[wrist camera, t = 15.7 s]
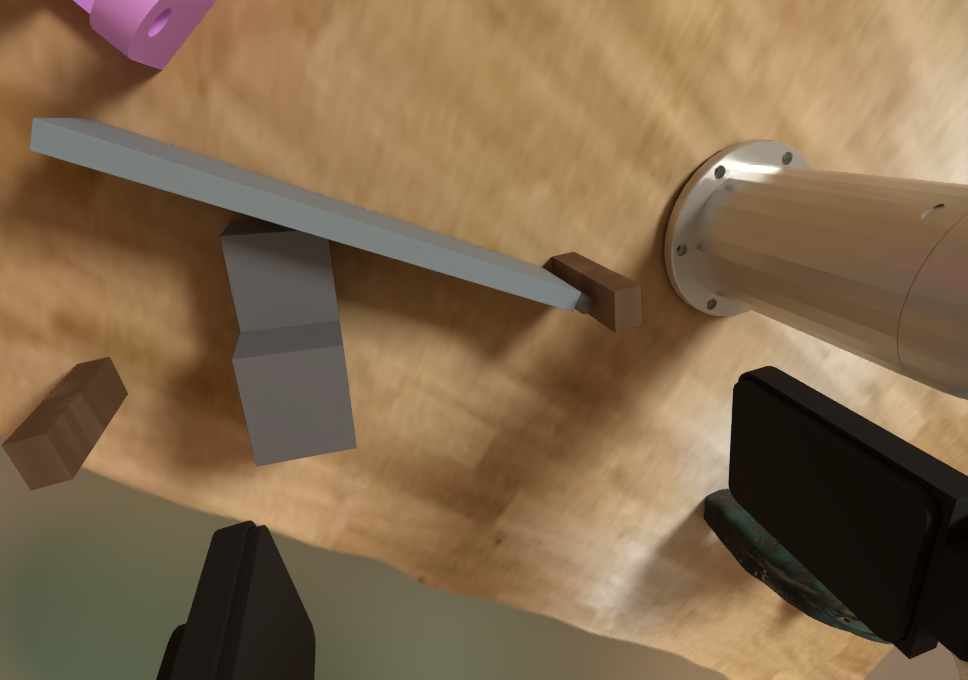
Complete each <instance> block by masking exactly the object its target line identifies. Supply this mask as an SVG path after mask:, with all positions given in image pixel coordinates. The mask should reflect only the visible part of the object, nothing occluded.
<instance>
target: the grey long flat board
mask: <svg viewBox="0 0 968 680" xmlns="http://www.w3.org/2000/svg"><path fill="white" fill-rule="evenodd" d="M30 150H31V151H34V152H38V153H41V154H44V155H48V156H51V157H54V158H58V159H61V160H65V161H68V162H71V163H75V164H78V165H81V166H85V167H88V168H91V169H95V170H98V171H101V172H105V173H108V174H112V175H115V176H118V177H122V178H125V179H128V180H132V181H135V182H138V183H142V184H145V185H148V186H152V187H155V188H159V189H162V190H165V191H169V192H172V193H175V194H179V195H182V196H185V197H189V198H192V199H195V200H199V201H202V202H206V203H209V204H212V205H216V206H219V207H222V208H226V209H229V210H232V211H236V212H239V213H242V214H246V215H249V216H253V217H256V218H259V219H263V220H266V221H269V222H273V223H276V224H279V225H283V226H286V227H289V228H293V229H296V230H300V231H303V232H306V233H310V234H313V235H316V236H320V237H323V238H326V239H330V240H333V241H336V242H340V243H343V244H347V245H350V246H353V247H357V248H360V249H363V250H367V251H370V252H373V253H377V254H380V255H383V256H387V257H390V258H394V259H397V260H400V261H404V262H407V263H410V264H414V265H417V266H420V267H424V268H427V269H430V270H434V271H437V272H441V273H444V274H447V275H451V276H454V277H457V278H461V279H464V280H467V281H471V282H474V283H477V284H481V285H484V286H488V287H491V288H494V289H498V290H501V291H504V292H508V293H511V294H514V295H518V296H521V297H524V298H528V299H531V300H535V301H538V302H541V303H545V304H548V305H551V306H555V307H558V308H561V309H565V310H568V311H571V312H573V311H574V309H576V310H578V311H579V312H580V313H582V314H587V313H589V312H590V311H591V310H592V309H593V307H594V301H593V299H591V298H590V297H588V296H587V295H585V294H584V293H582V292H580V291H579V290H577V289H576V288H574V287H573V286H571V285H569V284H568V283H566V282H565V281H563V280H562V279H560V278H558V277H557V276H555V275H554V274H552V273H550V272H549V271H547V270H545V269H544V268H542V267H539V266H536V265H533V264H530V263H527V262H524V261H521V260H518V259H515V258H512V257H509V256H506V255H503V254H500V253H497V252H494V251H491V250H487V249H484V248H481V247H478V246H475V245H472V244H469V243H466V242H463V241H460V240H457V239H454V238H451V237H448V236H445V235H442V234H439V233H436V232H433V231H430V230H427V229H424V228H421V227H418V226H415V225H412V224H409V223H406V222H403V221H400V220H397V219H394V218H390V217H387V216H384V215H381V214H378V213H375V212H372V211H369V210H366V209H363V208H360V207H357V206H354V205H351V204H348V203H345V202H342V201H339V200H336V199H333V198H330V197H327V196H324V195H321V194H318V193H315V192H312V191H309V190H306V189H303V188H300V187H297V186H293V185H290V184H287V183H284V182H281V181H278V180H275V179H272V178H269V177H266V176H263V175H260V174H257V173H254V172H251V171H248V170H245V169H242V168H239V167H236V166H233V165H230V164H227V163H224V162H221V161H218V160H215V159H212V158H209V157H206V156H203V155H200V154H196V153H193V152H190V151H187V150H184V149H181V148H178V147H175V146H172V145H169V144H166V143H163V142H160V141H157V140H154V139H151V138H148V137H145V136H142V135H139V134H136V133H133V132H130V131H127V130H124V129H121V128H118V127H115V126H112V125H109V124H106V123H103V122H99V121H96V120H93V119H90V118H33V125H32V134H31V143H30Z"/></svg>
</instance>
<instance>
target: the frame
mask: <svg viewBox="0 0 968 680" xmlns="http://www.w3.org/2000/svg"><path fill="white" fill-rule="evenodd" d="M552 262H553V274H554V275H555V276H557V277H558V278H560V279H562V280H563V281H565V282H566V283H568V284H569V285H571V286H573V287H574V288H576V289H577V290H579V291H580V292H582V293H584V294H585V295H587V296H588V297H590V298H591V299H593V301H594V307H593V309H592V310H591V311H590V312H589V313H588V314H589V315H591V316H592V317H594V318H595V319H597V320H598V321H599V322H601V323H602V324H604V325H605V326H607V327H608V328H609V329H611V330H612V331H614V332H615V333H617V332H621V331H624V330H628V329H632V328H635V327H639V326H641V285H639V284H637V283H635V282H633V281H631V280H629V279H627V278H625V277H623V276H621V275H619V274H617V273H615V272H613V271H611V270H609V269H607V268H605V267H603V266H601V265H599V264H597V263H595V262H593V261H591V260H589V259H587V258H585V257H583V256H581V255H579V254H577V253H575V252H571V253H566V254H562V255H558V256H553V257H552ZM127 395H128V393H127V391H126V389H125V387H124V385H123V383H122V381H121V379H120V377H119V375H118V373H117V371H116V369H115V367H114V365H113V363H112V361H111V359H110V357H107V358H103V359H98V360H94V361H90V362H85V363H81V364H77V365H76V366H75V367H74V368H73V369H72V371H71V372H70V373H69V374H68V375H67V376H66V377H65V378H64V379H63V380H62V381H61V382H60V383H59V384H58V386H57V387H56V388H55V389H54V390H53V391H52V392H51V393H50V394H49V395H48V396H47V397H46V398H45V399H44V401H43V402H42V403H41V404H40V405H39V406H38V407H37V408H36V409H35V410H34V411H33V412H32V413H31V414H30V416H29V417H28V418H27V419H26V420H25V421H24V422H23V423H22V424H21V425H20V426H19V427H18V428H17V429H16V431H15V432H14V433H13V434H12V435H11V436H10V437H9V438H8V439H7V440H6V441H5V442H4V443H3V444H2V446H3V448H4V449H5V451H6V453H7V454H8V455H9V457H10V459H11V460H12V462H13V463H14V464H15V466H16V468H17V469H18V471H19V472H20V474H21V476H22V477H23V479H24V480H25V482H26V483H27V485H28V486H29V488H30V489H31V490H34V489H38V488H41V487H45V486H49V485H53V484H56V483H60V482H64V481H67V480H71V479H73V478H74V476H75V475H76V473H77V472H78V470H79V469H80V467H81V466H82V464H83V462H84V461H85V459H86V458H87V456H88V455H89V453H90V452H91V450H92V449H93V447H94V446H95V444H96V442H97V441H98V439H99V438H100V436H101V435H102V433H103V432H104V430H105V429H106V427H107V426H108V424H109V422H110V421H111V419H112V418H113V416H114V415H115V413H116V412H117V410H118V409H119V407H120V406H121V404H122V402H123V401H124V399H125V398H126V396H127Z"/></svg>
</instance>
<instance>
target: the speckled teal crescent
mask: <svg viewBox="0 0 968 680" xmlns="http://www.w3.org/2000/svg"><path fill="white" fill-rule="evenodd" d="M704 519H705V521H706V522H707V524H708V525H709V526H710V528H711V529H712V530H713V531H714V532H715V534H716V535H717V536H718V538H719V539H720V540H721V542H722V543H723V544H724V545H725V546H726V548H727V549H728V550H729V551H730V552H731V553H732V555H733V556H734V557H735V559H736V560H737V561H738V562H739V563H740V565H741V566H742V567H743V568H744V569H745V570H746V571H747V572H748V573H749V574H751V575H752V576H754V577H755V578H757V579H759V580H760V581H762V582H763V583H765V584H766V585H767V586H768V587H770V588H771V589H772V590H773V591H774V592H776V593H777V594H778V595H779V596H780V597H782V598H783V599H784V600H785V601H787V602H788V603H790V604H791V605H793V606H794V607H796V608H797V609H799V610H800V611H802V612H803V613H805V614H806V615H808V616H810V617H812V618H814V619H816V620H818V621H820V622H822V623H824V624H827V625H829V626H831V627H834V628H838V629H841V630H844V631H848V632H851V633H853V634H855V635H857V636H860V637H863V638H866V639H868V640H871V641H875V642H880V643H884V644H893V643H892V642H886V641H884V640H882V639H880V638H879V637H877V636H876V635H875V634H874V633H873V632H872V631H871V630H870V629H869V628H868V627H867V626H866V625H864V624H863V623H862V622H861V621H860V620H859V619H858V618H857V617H856V616H855V615H854V614H853V613H852V612H851V611H850V610H849V609H848V608H847V607H846V606H845V605H844V604H843V603H842V602H840V601H839V600H838V599H837V598H836V597H835V596H834V595H833V594H832V593H831V592H830V591H829V590H828V589H827V588H826V587H825V586H824V585H823V584H822V583H821V582H820V581H819V580H818V579H817V578H815V577H814V576H813V575H812V574H811V573H810V572H809V571H808V570H807V569H806V568H805V567H804V566H803V565H802V564H801V563H800V562H799V561H798V560H797V559H796V558H795V557H794V556H793V555H791V554H790V553H789V552H788V551H787V550H786V549H785V548H784V547H783V546H782V545H781V544H780V543H779V542H778V541H777V540H776V539H775V538H774V537H773V536H772V535H771V534H770V533H769V532H767V531H766V530H765V529H764V528H763V527H762V526H761V525H760V524H759V523H758V522H757V521H756V520H755V519H754V518H753V517H752V516H751V515H750V514H749V513H748V512H747V511H746V510H745V509H744V508H742V507H741V506H740V505H739V504H738V503H737V502H736V500H735V499H734V498H733V496H732V494H731V492H730V490H729V489H726V490H724V489H722V490H719V491H717V492H715V493H713V494H711V495H709V496H708V497H707V498H706V502H705V514H704Z"/></svg>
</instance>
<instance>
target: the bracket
mask: <svg viewBox="0 0 968 680" xmlns="http://www.w3.org/2000/svg"><path fill="white" fill-rule="evenodd" d="M73 1H75V2H76V3H77V4H78V5H79V6H81V7H82V8H83V9H84V10H86V11H87V12H88V13H89V14H90V20H89V21H90V26H91V28H92V29H93V30H95V31H96V32H97V33H98V34H100V35H101V36H102V37H103V38H104V39H106V40H107V41H108V42H109V43H111V44H112V45H113V46H114V47H116V48H117V49H118V50H119V51H121V52H122V53H123V54H124V55H125V56H127V57H128V58H129V59H131V60H133V61H136V62H139V63H142V64H145V65H148V66H151V67H154V68H157V69H160V70H163V69H164V67H165V66H166V65H167V64H168V62H169V61H170V60H171V58H172V57H173V56H174V55H175V53H176V52H177V51H178V49H179V48H180V47H181V46H182V44H183V43H184V42H185V40H186V39H187V38H188V36H189V35H190V34H191V33H192V31H193V30H194V29H195V27H196V26H197V25H198V24H199V22H200V21H201V20H202V18H203V17H204V16H205V15H206V13H207V12H208V11H209V9H210V8H211V7H212V6H213V4H214V3H215V2H216V0H73Z"/></svg>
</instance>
